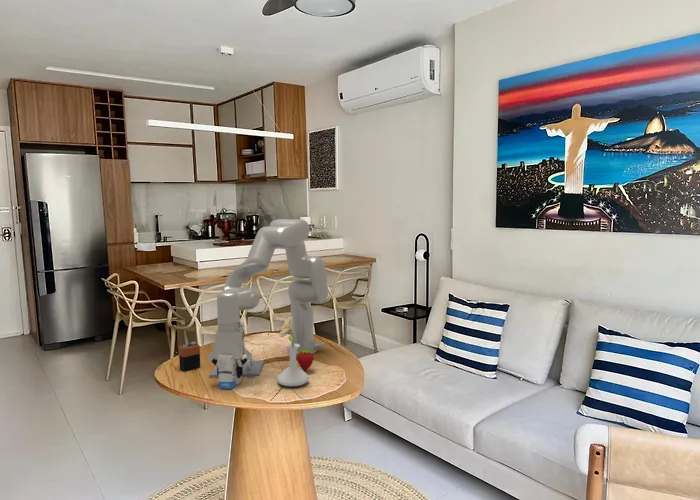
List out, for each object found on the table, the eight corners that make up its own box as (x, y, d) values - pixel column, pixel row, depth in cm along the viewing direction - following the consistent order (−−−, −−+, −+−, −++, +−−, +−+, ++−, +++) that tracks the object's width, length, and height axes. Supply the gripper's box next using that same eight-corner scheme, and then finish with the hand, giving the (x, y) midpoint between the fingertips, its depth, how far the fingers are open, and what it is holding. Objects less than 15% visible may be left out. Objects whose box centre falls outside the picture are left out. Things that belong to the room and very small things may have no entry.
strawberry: (307, 367, 188) (306, 342, 187) (316, 372, 182) (316, 347, 181) (293, 370, 185) (293, 344, 184) (303, 376, 178) (302, 349, 178)
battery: (200, 367, 188) (200, 342, 187) (184, 371, 184) (183, 346, 183) (195, 365, 191) (194, 340, 191) (179, 369, 187) (178, 344, 186)
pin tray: (263, 362, 194) (263, 351, 194) (258, 376, 178) (258, 364, 178) (218, 363, 193) (218, 352, 193) (209, 377, 177) (209, 365, 177)
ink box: (231, 389, 165) (230, 356, 164) (218, 388, 166) (217, 355, 165) (242, 381, 173) (241, 349, 172) (229, 380, 174) (228, 348, 173)
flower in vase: (280, 377, 177) (278, 310, 175) (310, 378, 176) (310, 310, 174) (273, 391, 164) (272, 319, 162) (306, 391, 163) (305, 319, 161)
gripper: (255, 323, 172) (256, 372, 174) (206, 324, 171) (207, 374, 173) (252, 329, 165) (253, 380, 166) (201, 330, 164) (202, 381, 165)
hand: (230, 376), depth 169 cm, fingers closed on ink box, 5 cm apart
